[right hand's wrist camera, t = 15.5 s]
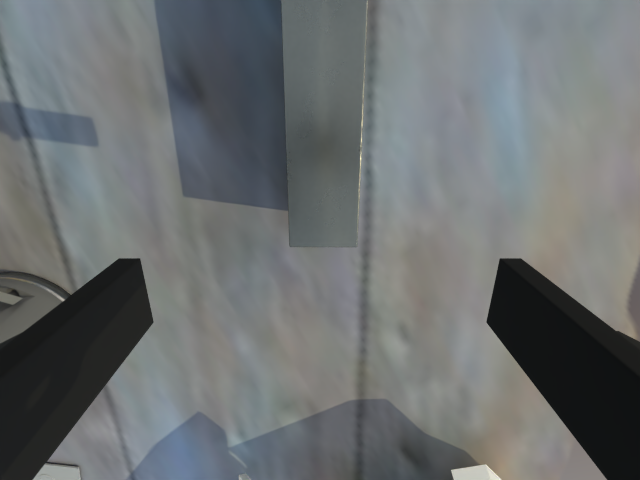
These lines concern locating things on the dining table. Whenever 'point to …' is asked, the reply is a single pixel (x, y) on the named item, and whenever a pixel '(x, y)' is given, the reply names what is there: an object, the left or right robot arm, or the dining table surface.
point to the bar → (323, 118)
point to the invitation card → (58, 472)
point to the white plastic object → (476, 476)
